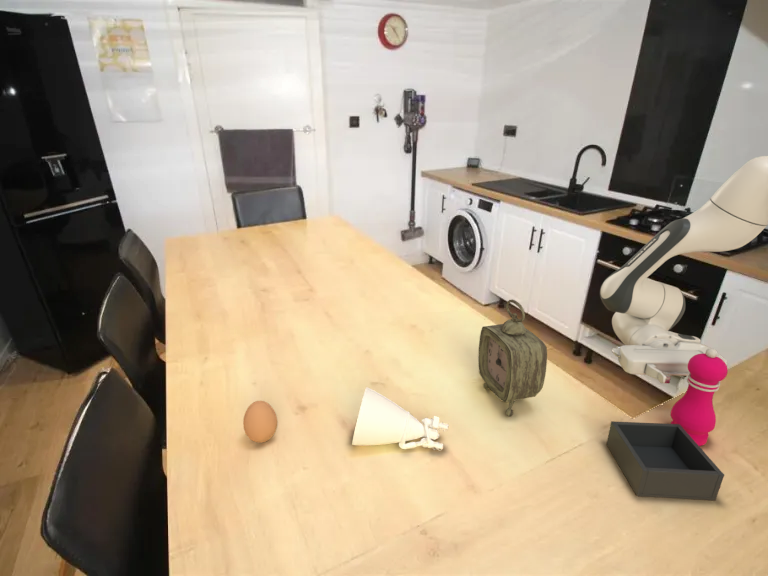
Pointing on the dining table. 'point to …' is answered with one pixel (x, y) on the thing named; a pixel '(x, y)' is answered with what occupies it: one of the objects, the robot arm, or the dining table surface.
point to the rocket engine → (392, 424)
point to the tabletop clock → (512, 360)
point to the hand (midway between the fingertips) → (691, 381)
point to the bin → (663, 461)
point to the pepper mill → (700, 396)
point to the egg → (260, 421)
